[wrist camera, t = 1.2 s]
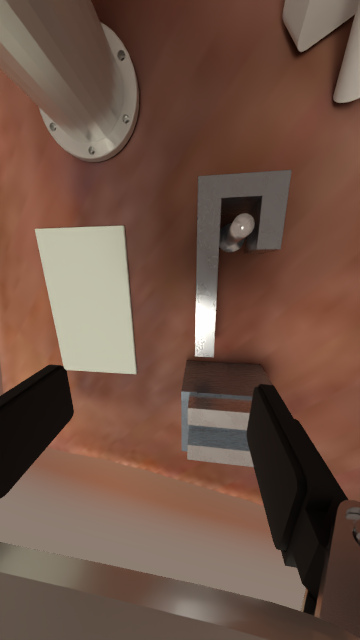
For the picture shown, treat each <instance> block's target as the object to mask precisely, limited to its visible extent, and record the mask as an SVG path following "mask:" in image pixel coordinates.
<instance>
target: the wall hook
mask: <svg viewBox="0 0 360 640" xmlns="http://www.w3.org/2000/svg"><path fill="white" fill-rule="evenodd" d="M353 15H355V17H354V20H353V24H352V28H351V32H350V35H349V39H348V43H347V47H346V50H345V54H344V58H343V62H342V65H341V69H340V73H339V77H338V80H337V84H336V88H335V92H334V95H333V100H334V101H335V102H338V103H345V102H350V101H353V100H356V99H358V98H360V0H285V4H284V10H283V22H284V24H285V26H286V28H287V29H288V31H289V33H290V35H291V37H292V39H293V41H294V43H295V45H296V47H297V48H298V50H299V51H300V52H303V51H305V50H307V49H308V48H310V47H311V46H312V45H314V44H315V43H317V42H318V41H319V40H321V39H322V38H323V37H325V36H326V35H327V34H329V33H330V32H332V31H333V30H334V29H336V28H337V27H338V26H340V25H341V24H343V23H344V22H345V21H347V20H348V19H349V18H351V17H352V16H353Z"/></svg>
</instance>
